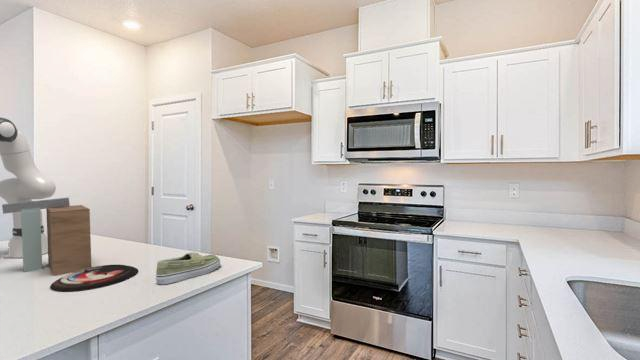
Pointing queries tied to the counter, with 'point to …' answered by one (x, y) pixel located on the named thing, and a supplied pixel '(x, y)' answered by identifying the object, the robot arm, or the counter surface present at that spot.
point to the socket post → (31, 239)
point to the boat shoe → (185, 267)
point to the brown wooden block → (68, 239)
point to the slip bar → (35, 205)
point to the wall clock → (94, 278)
